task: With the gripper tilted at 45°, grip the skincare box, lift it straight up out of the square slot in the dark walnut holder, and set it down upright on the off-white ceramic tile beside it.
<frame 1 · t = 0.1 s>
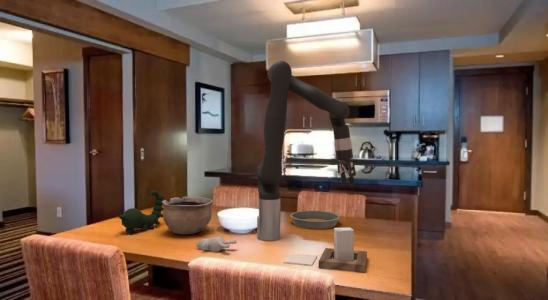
hand: (347, 184, 170), 22 cm above the table, tool pointing down, fingers open, 8 cm apart
ceramic tile: (300, 259, 135), on the table
toy figurine: (141, 230, 176), on the table
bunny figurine: (215, 251, 146), on the table
ceramic bowl: (188, 233, 172), on the table
walnut holder: (343, 263, 131), on the table
cake pan: (314, 224, 190), on the table
skincare box: (343, 263, 131), resting in walnut holder
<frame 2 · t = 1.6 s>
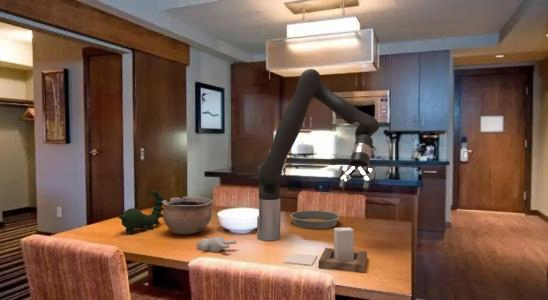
hand: (353, 189, 141), 24 cm above the table, tool tilted 45°, fingers open, 8 cm apart
nothing on the table moved.
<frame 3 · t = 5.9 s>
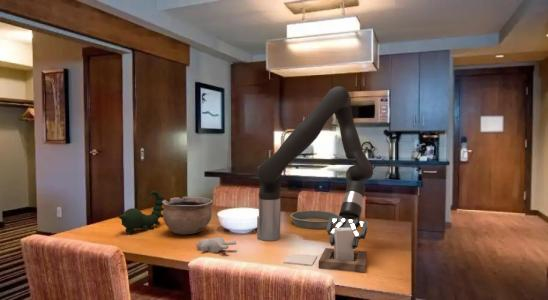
hand: (342, 246, 130), 6 cm above the table, tool tilted 45°, fingers closed on skincare box, 7 cm apart
skincare box: (343, 263, 131), resting in walnut holder, touching gripper
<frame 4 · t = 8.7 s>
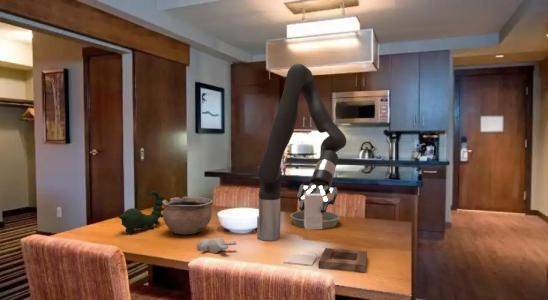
hand: (311, 211, 132), 18 cm above the table, tool tilted 45°, fingers closed on skincare box, 7 cm apart
skincare box: (312, 228, 133), point 11 cm above the table, touching gripper
when the fingers open (8 cm above the table, at t = 11.6 s): skincare box drops 1 cm, resting on ceramic tile.
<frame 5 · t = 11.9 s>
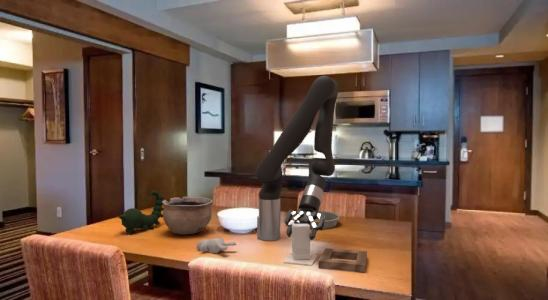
hand: (299, 237, 133), 8 cm above the table, tool tilted 45°, fingers open, 8 cm apart
skincare box: (300, 258, 135), resting on ceramic tile
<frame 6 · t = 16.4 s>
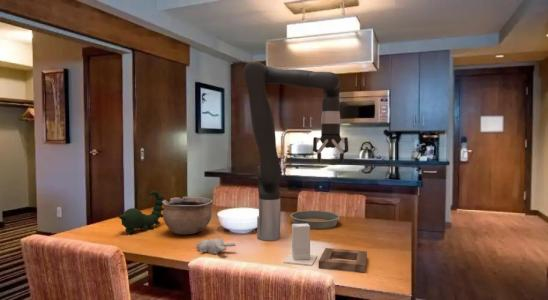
hand: (330, 162, 154), 33 cm above the table, tool pointing down, fingers open, 8 cm apart
at the end: skincare box inside the target area on the ceramic tile (0.3 cm from its centre), point 0.3 cm above the ceramic tile's base; skincare box tilted 0°; the gripper is holding nothing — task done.
